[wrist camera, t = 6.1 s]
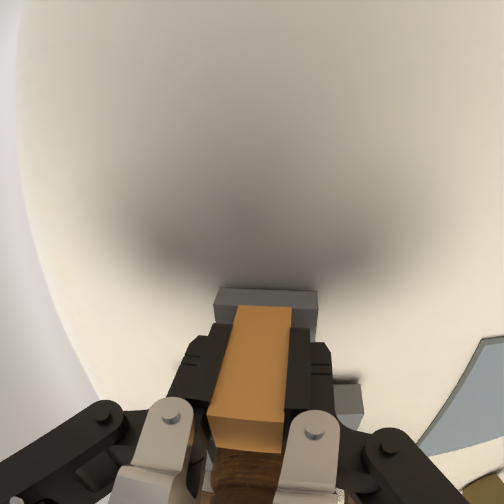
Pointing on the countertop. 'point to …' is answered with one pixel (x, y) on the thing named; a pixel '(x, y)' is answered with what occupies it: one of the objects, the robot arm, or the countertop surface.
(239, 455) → the utensil holder
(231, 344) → the sliding frame
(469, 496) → the squeeze bottle
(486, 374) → the slate mat
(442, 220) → the countertop surface
